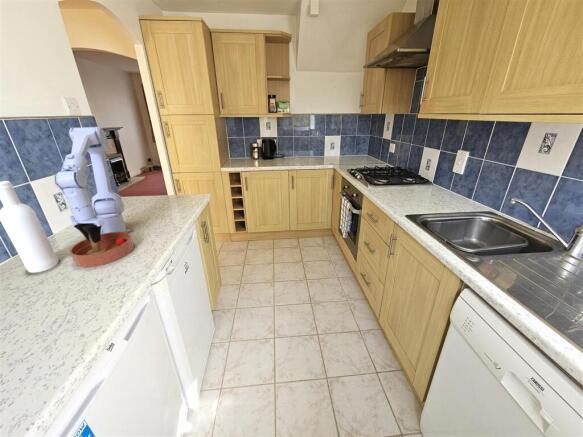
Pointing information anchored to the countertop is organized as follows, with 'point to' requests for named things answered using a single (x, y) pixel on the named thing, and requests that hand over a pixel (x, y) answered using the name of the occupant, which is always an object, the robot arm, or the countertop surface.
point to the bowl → (110, 255)
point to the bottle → (25, 231)
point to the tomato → (120, 241)
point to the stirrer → (95, 248)
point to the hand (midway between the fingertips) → (94, 241)
